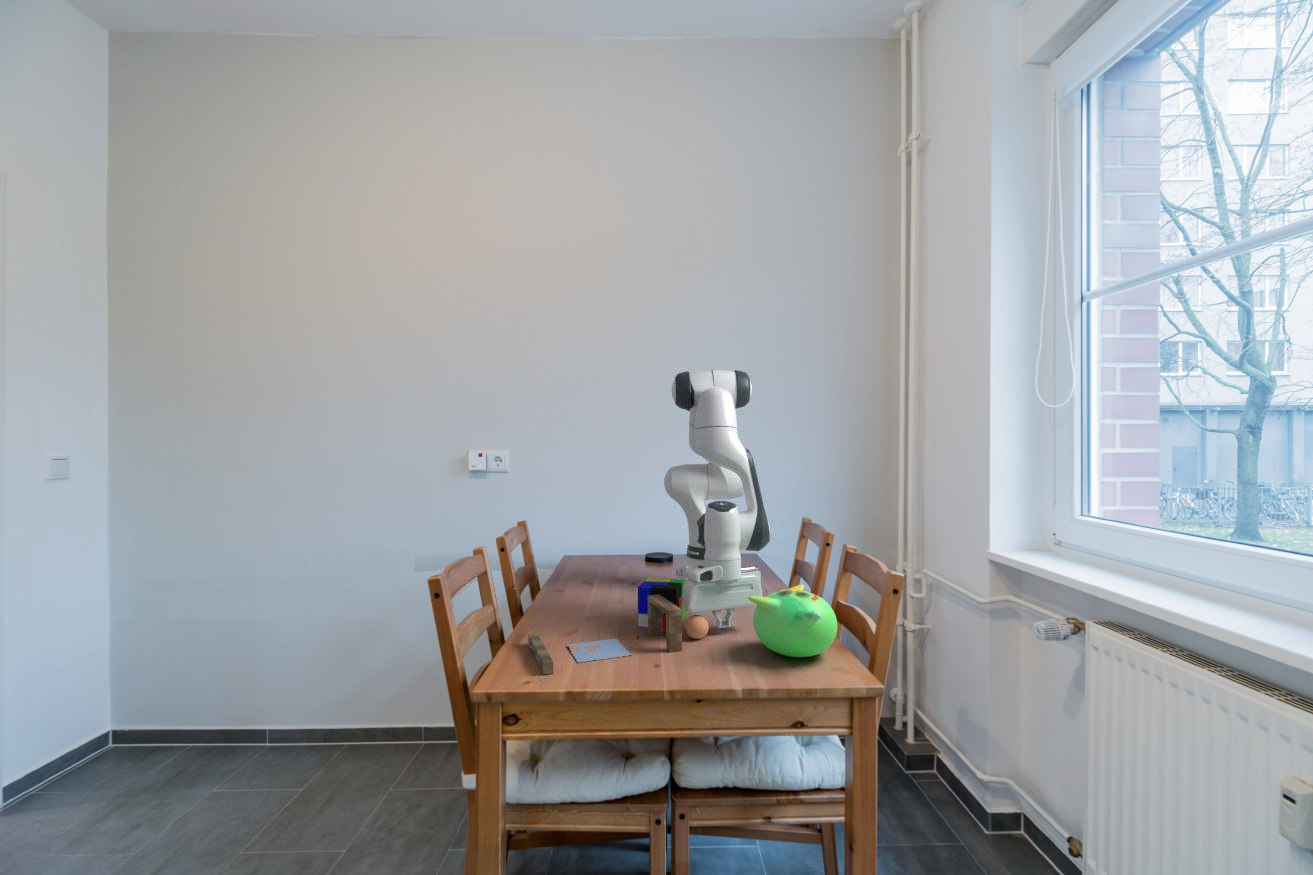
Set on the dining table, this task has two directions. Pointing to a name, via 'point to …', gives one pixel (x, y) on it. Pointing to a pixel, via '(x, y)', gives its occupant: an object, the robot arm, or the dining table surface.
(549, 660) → the stopper
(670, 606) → the bridge
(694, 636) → the ball
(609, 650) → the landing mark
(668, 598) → the puzzle toy
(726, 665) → the dining table surface
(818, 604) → the round green monster toy
